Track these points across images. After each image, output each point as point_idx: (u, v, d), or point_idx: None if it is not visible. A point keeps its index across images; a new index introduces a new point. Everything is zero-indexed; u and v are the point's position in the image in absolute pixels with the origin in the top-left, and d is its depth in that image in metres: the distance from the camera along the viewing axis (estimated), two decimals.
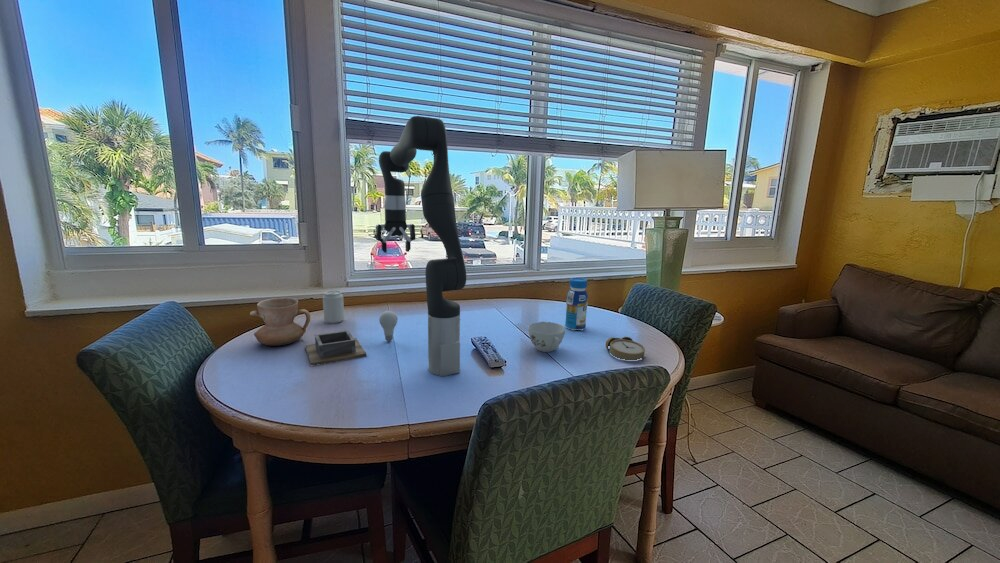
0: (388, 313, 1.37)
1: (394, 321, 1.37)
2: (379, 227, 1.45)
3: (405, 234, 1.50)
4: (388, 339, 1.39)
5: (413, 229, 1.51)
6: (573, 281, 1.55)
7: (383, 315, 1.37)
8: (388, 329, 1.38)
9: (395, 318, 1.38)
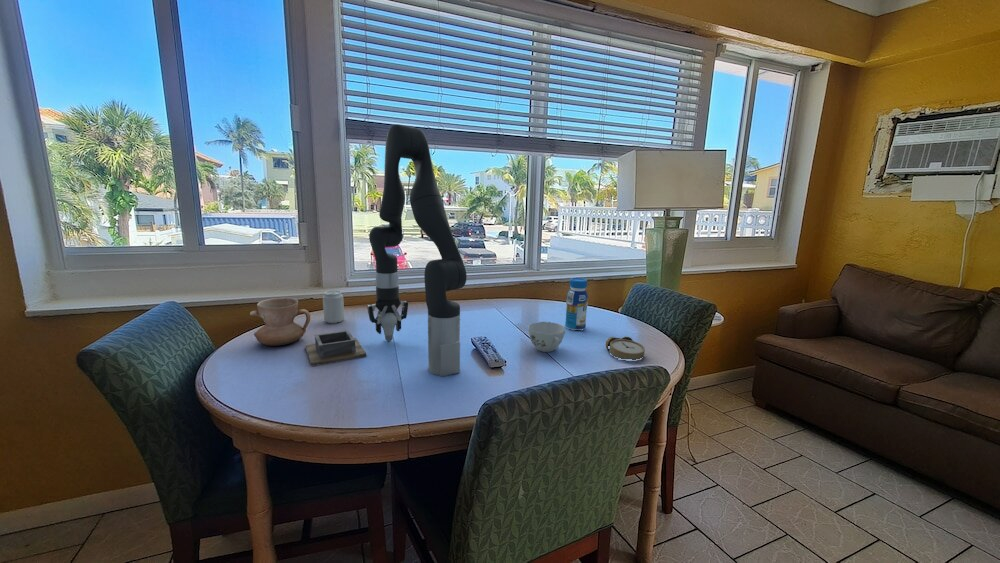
0: (388, 313, 1.37)
1: (394, 321, 1.37)
2: (370, 309, 1.34)
3: (397, 313, 1.38)
4: (388, 339, 1.39)
5: (406, 307, 1.40)
6: (573, 281, 1.55)
7: None
8: (388, 329, 1.38)
9: (395, 318, 1.38)
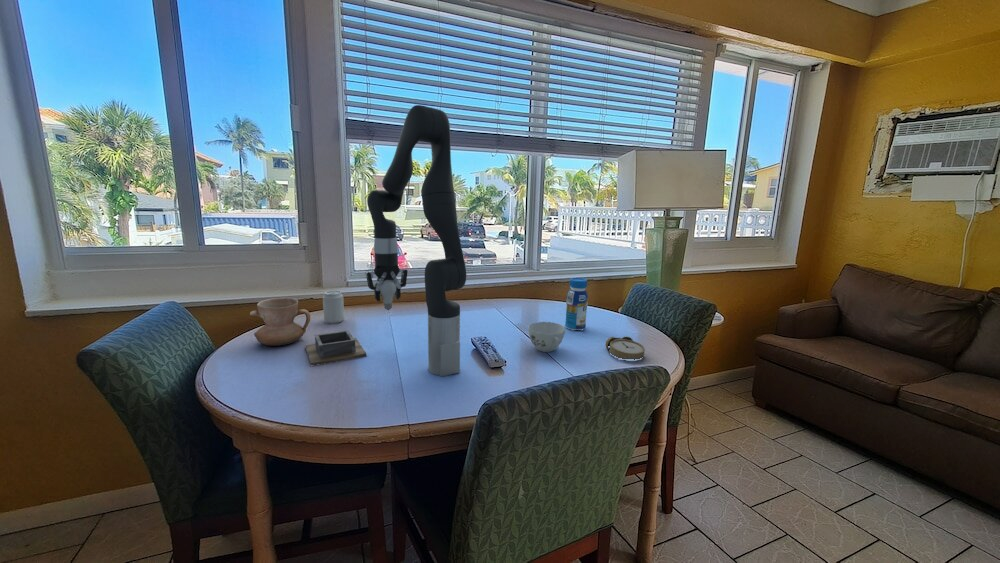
0: (387, 280, 1.35)
1: (393, 288, 1.35)
2: (369, 275, 1.31)
3: (396, 280, 1.36)
4: (387, 307, 1.37)
5: (405, 275, 1.38)
6: (573, 281, 1.55)
7: None
8: (387, 297, 1.35)
9: (394, 285, 1.35)
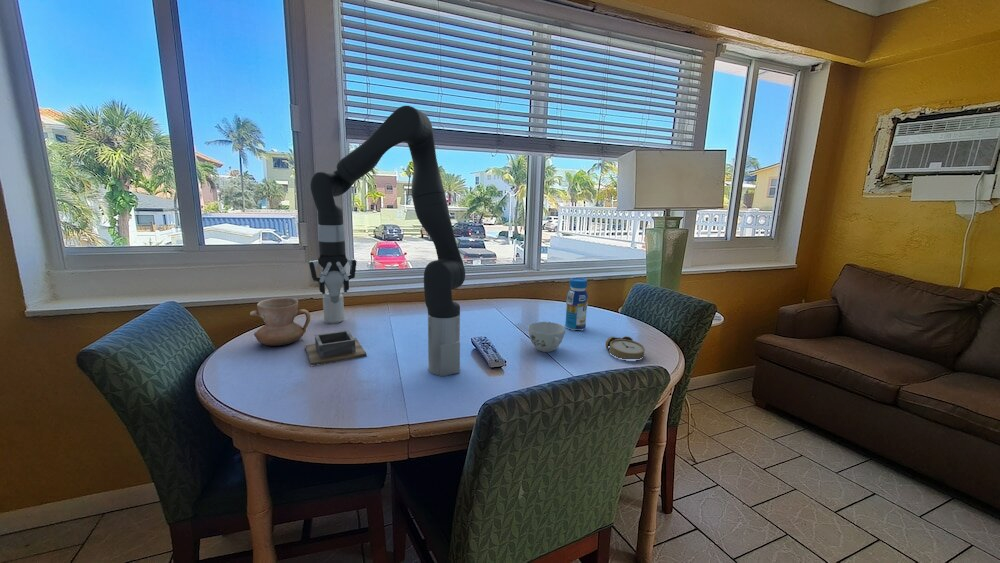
0: (332, 271, 1.24)
1: (339, 280, 1.24)
2: (311, 265, 1.20)
3: (343, 271, 1.25)
4: (333, 300, 1.26)
5: (354, 266, 1.27)
6: (573, 281, 1.55)
7: (327, 273, 1.23)
8: (333, 289, 1.24)
9: (340, 277, 1.24)
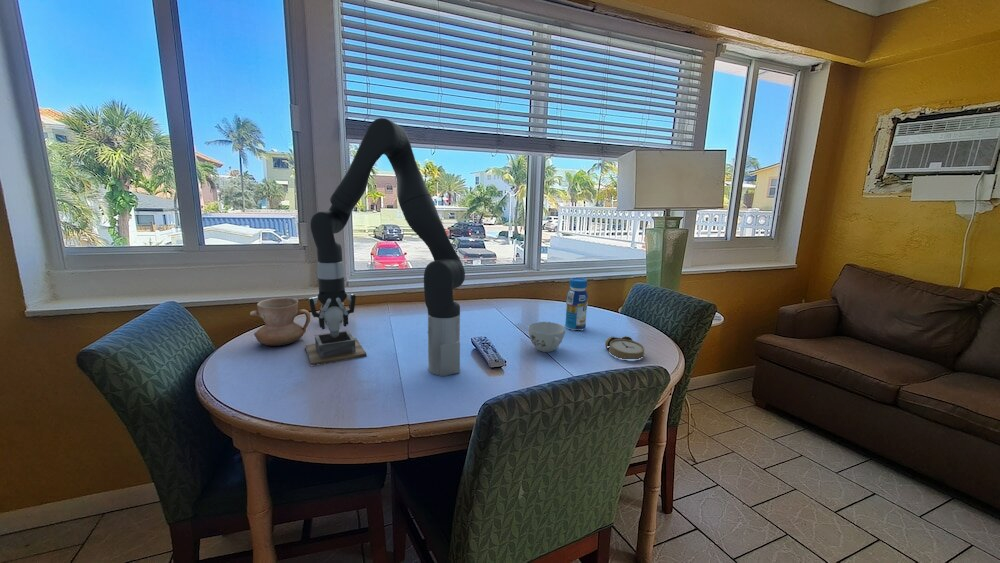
0: (332, 307, 1.25)
1: (339, 315, 1.26)
2: (311, 302, 1.22)
3: (342, 306, 1.27)
4: (333, 335, 1.28)
5: (353, 300, 1.28)
6: (573, 281, 1.55)
7: None
8: (332, 324, 1.26)
9: (340, 312, 1.26)
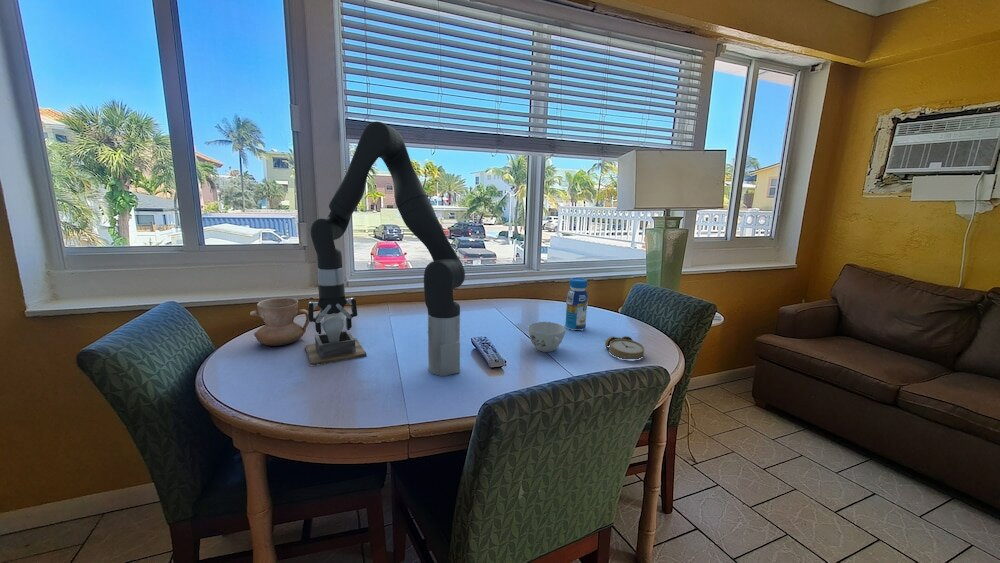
0: (332, 319, 1.26)
1: (339, 327, 1.26)
2: (311, 306, 1.22)
3: (344, 311, 1.27)
4: None
5: (354, 304, 1.29)
6: (573, 281, 1.55)
7: (327, 321, 1.26)
8: (332, 336, 1.27)
9: (340, 324, 1.27)
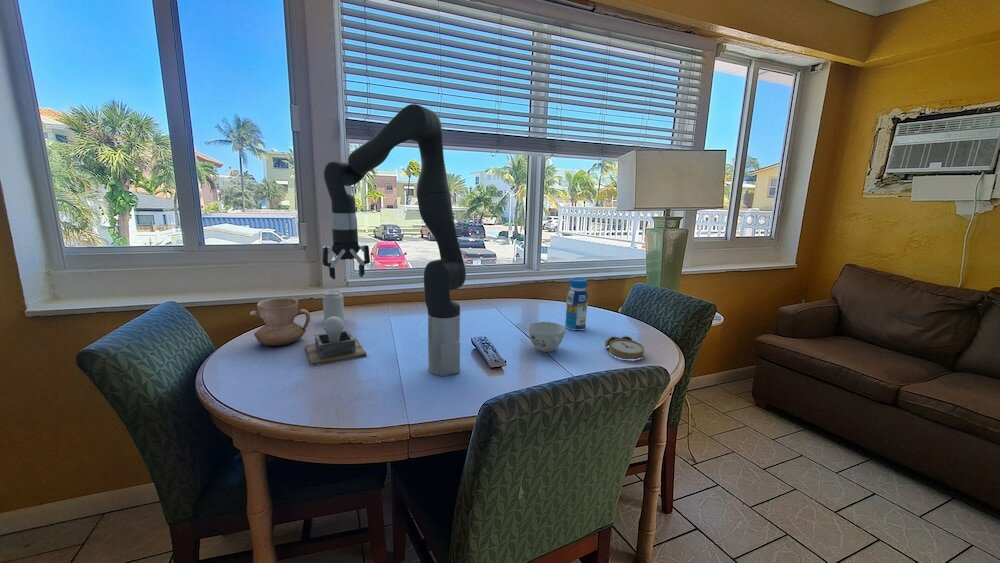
0: (333, 319, 1.26)
1: (340, 328, 1.26)
2: (325, 250, 1.24)
3: (357, 257, 1.29)
4: None
5: (367, 251, 1.31)
6: (573, 281, 1.55)
7: (328, 321, 1.26)
8: (333, 336, 1.27)
9: (341, 324, 1.27)
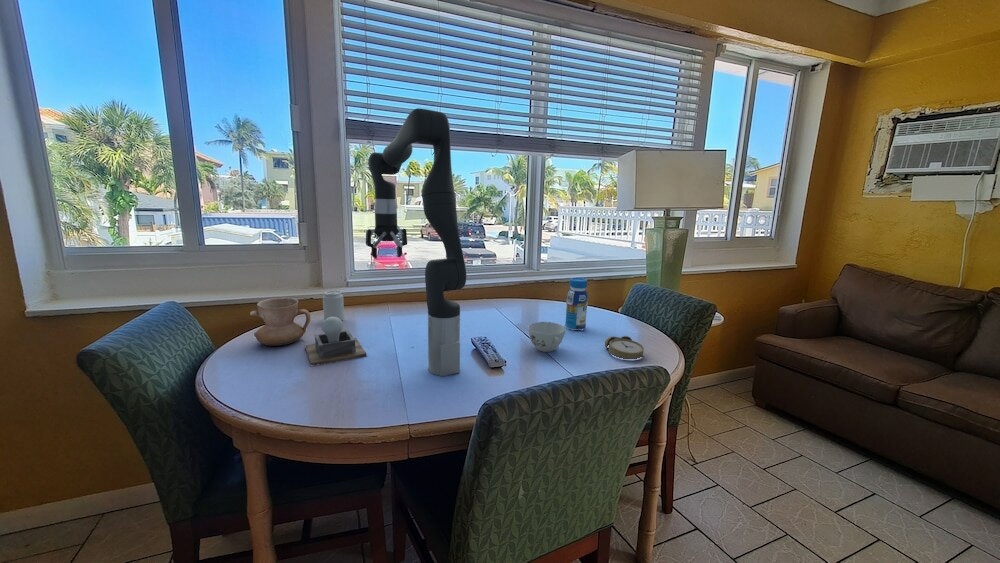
0: (331, 319, 1.26)
1: (338, 328, 1.26)
2: (369, 232, 1.38)
3: (396, 239, 1.43)
4: None
5: (405, 234, 1.45)
6: (573, 281, 1.55)
7: (326, 321, 1.25)
8: (332, 336, 1.26)
9: (339, 324, 1.27)
